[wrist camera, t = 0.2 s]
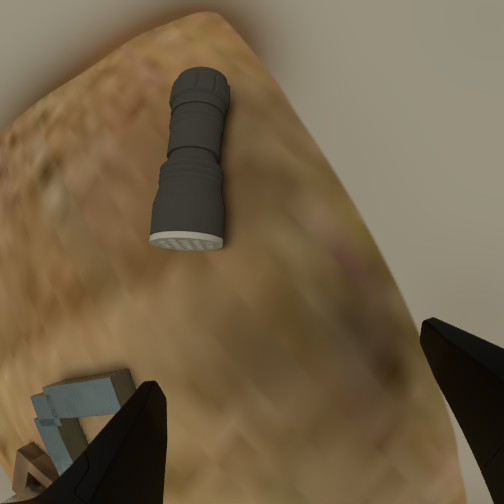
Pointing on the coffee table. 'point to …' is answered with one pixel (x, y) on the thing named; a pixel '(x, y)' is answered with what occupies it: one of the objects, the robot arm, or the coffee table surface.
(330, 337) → the coffee table surface
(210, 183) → the flashlight
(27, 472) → the slotted block
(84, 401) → the v block
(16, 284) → the coffee table surface
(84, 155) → the coffee table surface
